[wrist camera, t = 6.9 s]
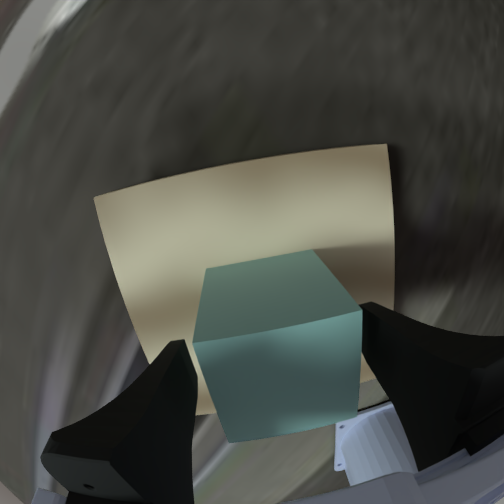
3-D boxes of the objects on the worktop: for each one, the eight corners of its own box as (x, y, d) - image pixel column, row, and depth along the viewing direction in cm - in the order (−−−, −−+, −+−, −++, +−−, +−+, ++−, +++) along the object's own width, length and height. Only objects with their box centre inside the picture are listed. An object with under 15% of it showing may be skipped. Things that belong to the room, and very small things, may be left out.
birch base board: (373, 353, 19) (387, 374, 17) (179, 391, 19) (175, 416, 17) (365, 144, 15) (386, 144, 13) (112, 191, 15) (93, 197, 12)
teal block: (319, 336, 16) (356, 417, 10) (227, 354, 16) (229, 442, 10) (311, 249, 14) (362, 310, 8) (205, 268, 14) (192, 343, 8)
